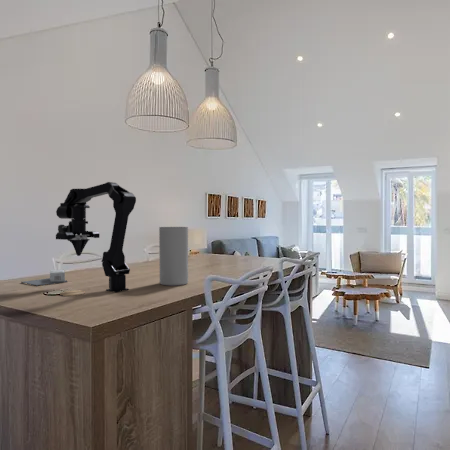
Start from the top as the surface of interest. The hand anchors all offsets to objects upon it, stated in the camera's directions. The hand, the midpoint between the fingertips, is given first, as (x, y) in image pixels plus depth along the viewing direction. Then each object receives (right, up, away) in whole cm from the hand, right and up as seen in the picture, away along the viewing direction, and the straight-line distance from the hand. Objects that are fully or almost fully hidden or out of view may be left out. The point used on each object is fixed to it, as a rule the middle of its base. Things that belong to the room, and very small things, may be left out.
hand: (78, 255), depth 157 cm
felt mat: (-20, -13, +11) cm, 26 cm away
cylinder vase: (+40, -13, +7) cm, 42 cm away
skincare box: (-12, -11, +8) cm, 18 cm away
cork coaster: (+4, -13, -15) cm, 21 cm away
